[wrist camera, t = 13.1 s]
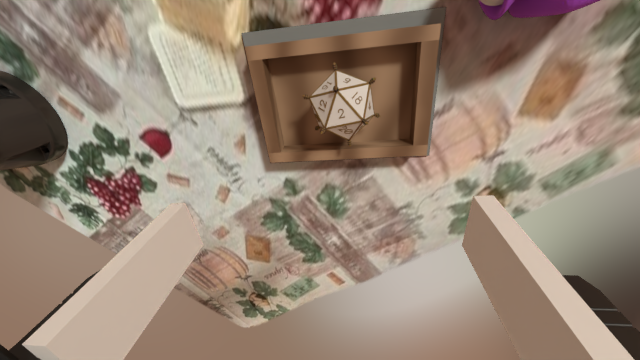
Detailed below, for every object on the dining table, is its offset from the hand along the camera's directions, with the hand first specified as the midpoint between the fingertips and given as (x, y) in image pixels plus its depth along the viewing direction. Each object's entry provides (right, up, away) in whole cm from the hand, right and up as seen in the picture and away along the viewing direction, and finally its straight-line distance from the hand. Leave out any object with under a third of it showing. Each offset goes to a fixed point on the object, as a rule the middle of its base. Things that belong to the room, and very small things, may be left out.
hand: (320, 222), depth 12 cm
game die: (+3, +13, +22) cm, 26 cm away
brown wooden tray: (+3, +13, +23) cm, 26 cm away
